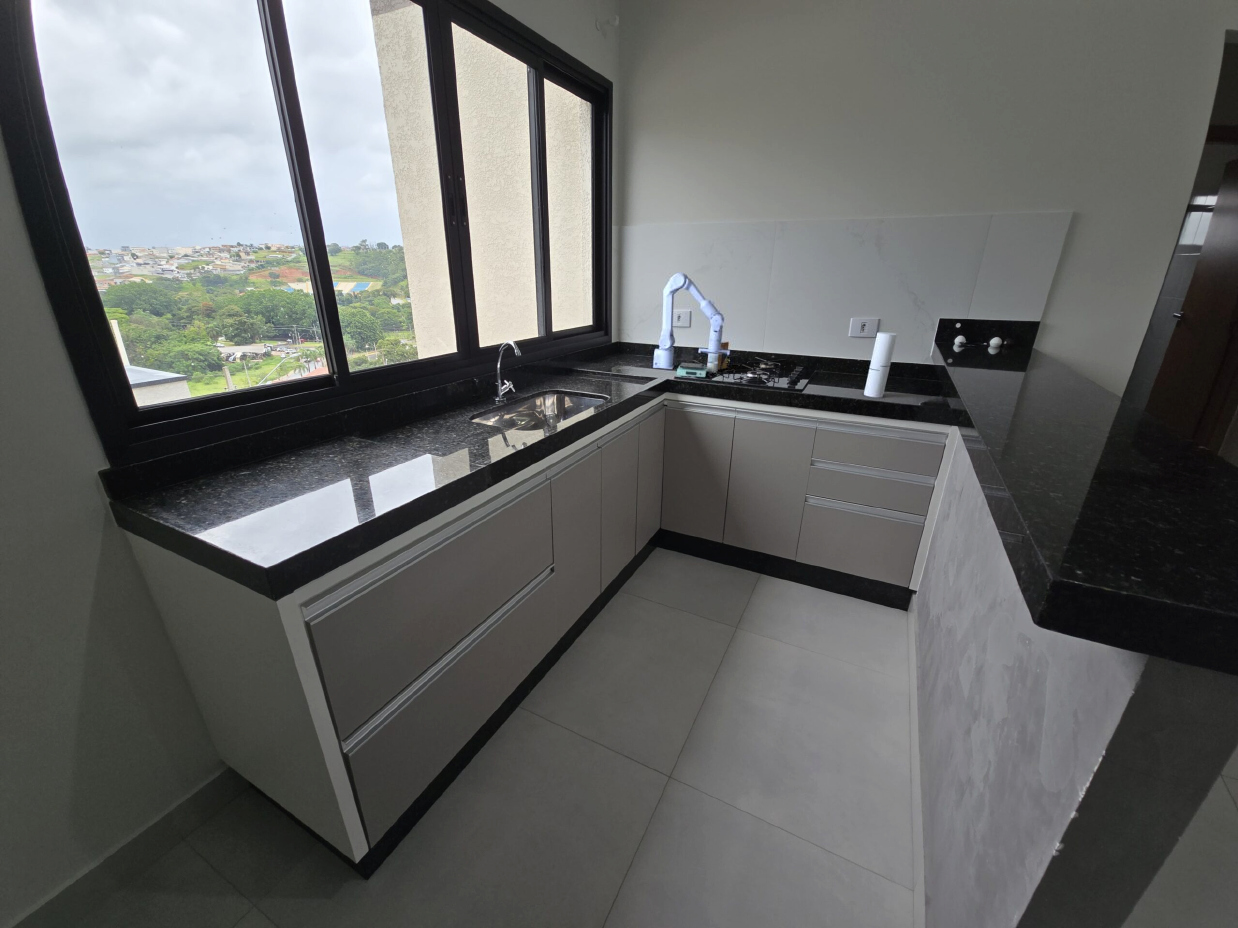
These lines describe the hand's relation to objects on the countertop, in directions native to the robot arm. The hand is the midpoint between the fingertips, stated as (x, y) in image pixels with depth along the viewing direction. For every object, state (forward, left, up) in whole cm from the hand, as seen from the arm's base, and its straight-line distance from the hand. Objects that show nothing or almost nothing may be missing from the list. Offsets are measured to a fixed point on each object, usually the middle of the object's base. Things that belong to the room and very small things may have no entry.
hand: (712, 369), depth 243 cm
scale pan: (-9, -9, +2) cm, 13 cm away
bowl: (0, 0, -1) cm, 1 cm away
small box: (+2, +11, -2) cm, 11 cm away
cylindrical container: (+67, -25, -2) cm, 72 cm away
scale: (-9, -9, -1) cm, 13 cm away
